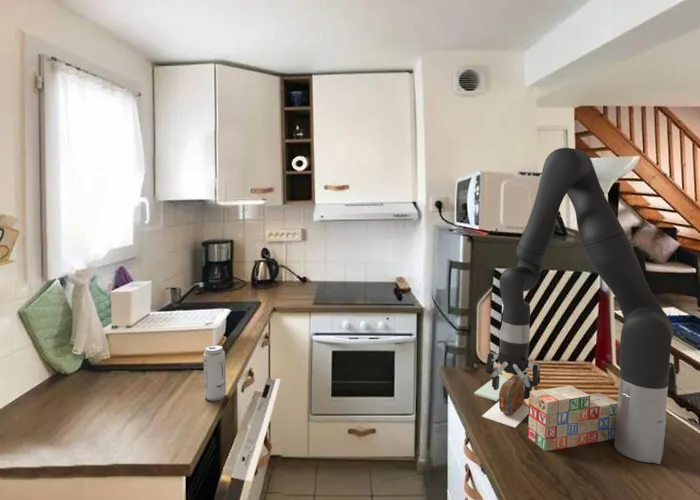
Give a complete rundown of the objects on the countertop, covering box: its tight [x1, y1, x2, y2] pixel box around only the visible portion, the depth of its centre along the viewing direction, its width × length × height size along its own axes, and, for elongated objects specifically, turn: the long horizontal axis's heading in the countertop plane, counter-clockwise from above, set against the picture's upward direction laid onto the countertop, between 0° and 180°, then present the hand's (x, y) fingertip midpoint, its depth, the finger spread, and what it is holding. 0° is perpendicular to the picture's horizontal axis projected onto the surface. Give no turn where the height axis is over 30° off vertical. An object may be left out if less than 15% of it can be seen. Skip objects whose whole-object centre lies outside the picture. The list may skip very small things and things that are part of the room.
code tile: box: [481, 401, 529, 428], centre depth 122 cm, size 9×20×1 cm, turn 140°
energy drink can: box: [203, 344, 227, 402], centre depth 128 cm, size 6×6×15 cm
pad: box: [474, 373, 507, 402], centre depth 136 cm, size 7×19×1 cm, turn 139°
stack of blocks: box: [527, 385, 618, 452], centre depth 106 cm, size 21×6×12 cm, turn 105°
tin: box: [498, 374, 526, 415], centre depth 122 cm, size 15×3×8 cm, turn 139°
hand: (510, 393), depth 122 cm, fingers open, 8 cm apart
